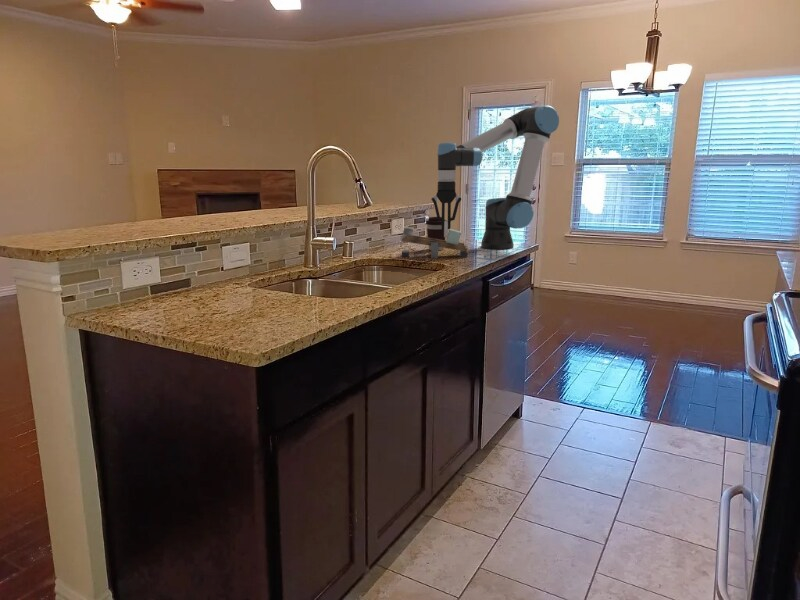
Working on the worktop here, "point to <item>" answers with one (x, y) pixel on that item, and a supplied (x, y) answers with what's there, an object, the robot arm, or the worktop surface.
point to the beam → (429, 240)
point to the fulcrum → (433, 251)
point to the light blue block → (453, 236)
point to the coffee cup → (435, 230)
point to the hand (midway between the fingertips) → (445, 236)
